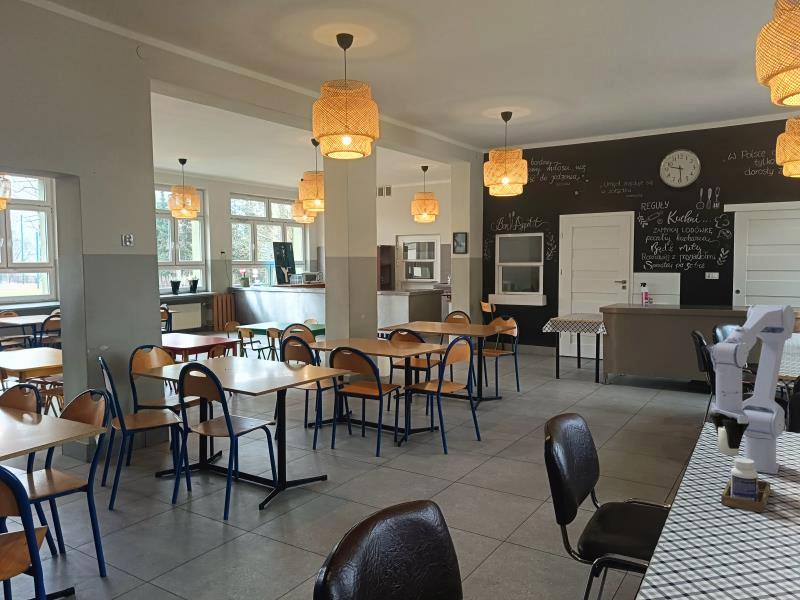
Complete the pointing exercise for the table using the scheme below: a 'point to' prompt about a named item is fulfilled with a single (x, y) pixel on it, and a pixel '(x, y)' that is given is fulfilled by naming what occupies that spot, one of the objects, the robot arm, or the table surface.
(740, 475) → the pill bottle
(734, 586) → the table surface
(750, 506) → the wooden tray
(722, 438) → the salt shaker
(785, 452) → the table surface
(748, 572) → the table surface
